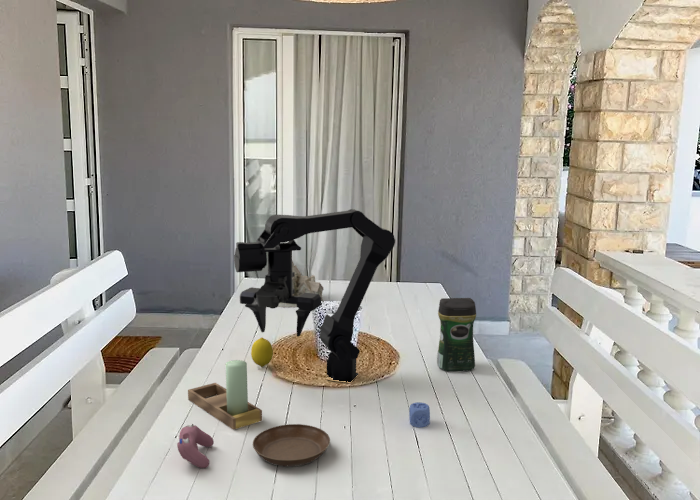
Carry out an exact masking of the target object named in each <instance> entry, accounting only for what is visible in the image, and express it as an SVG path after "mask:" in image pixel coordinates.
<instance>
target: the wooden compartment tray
mask: <svg viewBox="0 0 700 500" xmlns="http://www.w3.org/2000/svg"><path fill="white" fill-rule="evenodd" d="M187 400H188V401H190V402H191V403H192V404H194V405H196V406H197V407H199V408H200V409H201V410H203V411H204V412H206V413H207V414H208V415H210V416H212V417H213V418H215V419H216V420H218V421H220V422H221V423H222V424H224V425H225V426H227V427H229V428H230V429H231V430H233V431H234V430H237V429H241V428H244V427H247V426H251V425H253V424H257V423H259V422H262V421H263V410H262V409H261V408H259V407H257V406H256V405H254V404H252V403H251V402H249V401H248V412H245V413H241V414H238V415H235V416H231V415H230V414H228V413H227V393H226V387H224V386H222V385H220V384H219V383H217V382H213V383H209V384H205V385H201V386H198V387H194V388H190V389H187Z"/></svg>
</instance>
